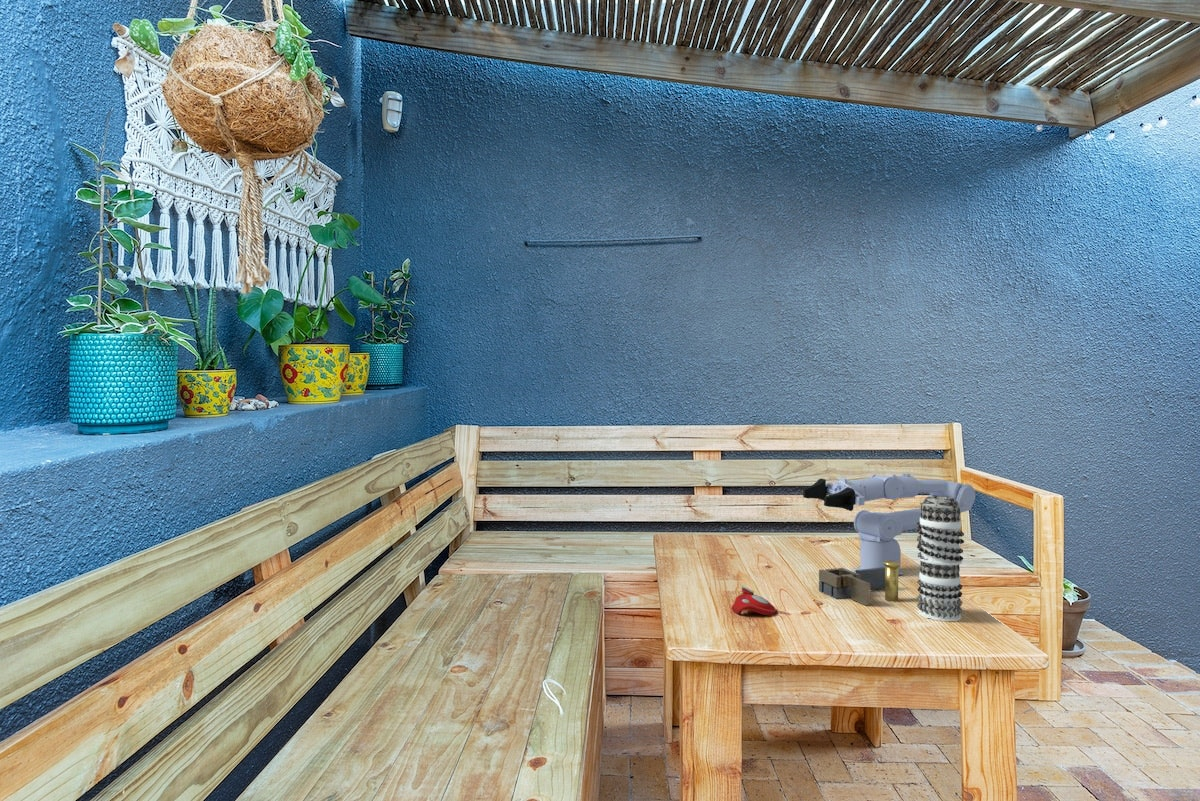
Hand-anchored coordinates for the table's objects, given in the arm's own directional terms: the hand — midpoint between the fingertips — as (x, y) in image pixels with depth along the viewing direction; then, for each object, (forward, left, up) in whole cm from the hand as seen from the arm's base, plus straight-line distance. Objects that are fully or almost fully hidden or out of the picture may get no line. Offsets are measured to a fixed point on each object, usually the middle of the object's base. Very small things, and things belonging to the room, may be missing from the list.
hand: (814, 497), depth 177 cm
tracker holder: (+25, +13, -22) cm, 36 cm away
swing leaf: (0, +14, -21) cm, 25 cm away
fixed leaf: (-5, +10, -21) cm, 24 cm away
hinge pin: (-8, +18, -21) cm, 29 cm away
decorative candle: (-10, +30, -21) cm, 38 cm away
